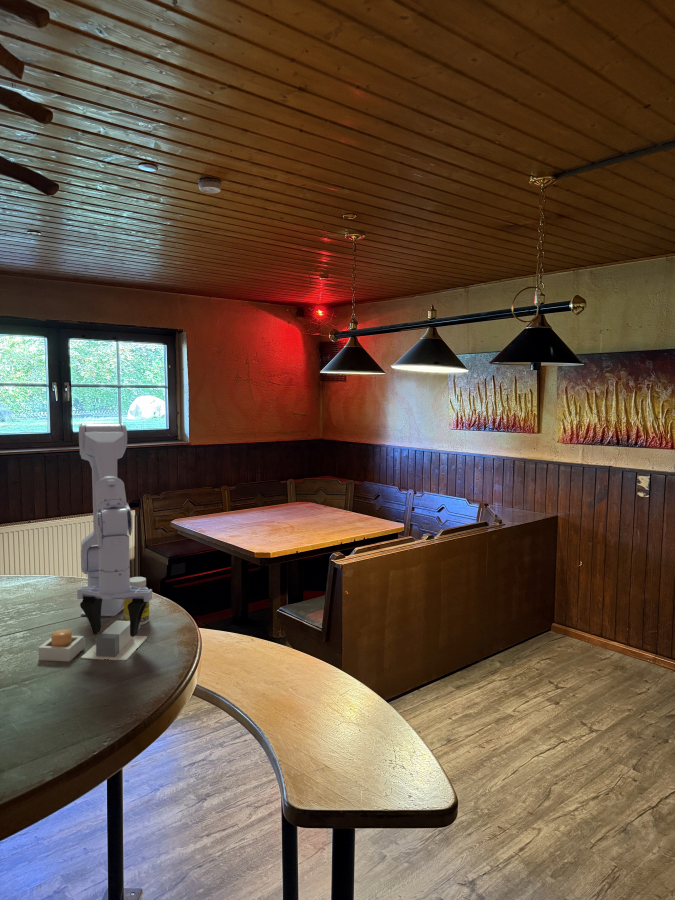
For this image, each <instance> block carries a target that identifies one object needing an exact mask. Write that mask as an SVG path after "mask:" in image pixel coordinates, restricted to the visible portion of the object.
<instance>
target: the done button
mask: <svg viewBox="0 0 675 900" xmlns="http://www.w3.org/2000/svg"><path fill="white" fill-rule="evenodd" d="M72 632H73V631H72V630H70V629H59V630H56V631H53V632H52V633H51V634H50V635H51V637H50V638H51V640H52V646H58V647H68V646H69V645H70V644H71V643H72V636H73V635H72Z"/></svg>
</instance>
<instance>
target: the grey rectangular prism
mask: <svg viewBox="0 0 675 900" xmlns="http://www.w3.org/2000/svg"><path fill="white" fill-rule="evenodd" d="M132 639H133V637H131V636H130V621H124V620H118V619H117V620H115V621H114V622H112V624H110V625H109V626H108V627H107V628H106V629H105V630H104V631H103V632H101V633H100V634H97V635H96V637H95V644H96V656H105V657H115V656H116V655H117V654H118V653H119V652H120V651H121V650H122V649H123V648H124V647H125V646H126V645H127V644H128V643H129V642H130V641H131V640H132Z"/></svg>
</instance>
